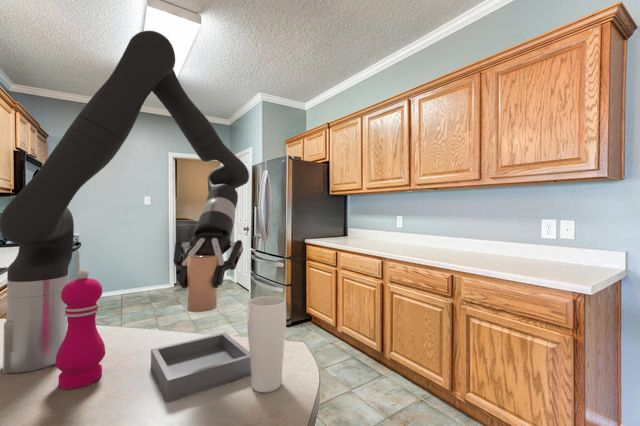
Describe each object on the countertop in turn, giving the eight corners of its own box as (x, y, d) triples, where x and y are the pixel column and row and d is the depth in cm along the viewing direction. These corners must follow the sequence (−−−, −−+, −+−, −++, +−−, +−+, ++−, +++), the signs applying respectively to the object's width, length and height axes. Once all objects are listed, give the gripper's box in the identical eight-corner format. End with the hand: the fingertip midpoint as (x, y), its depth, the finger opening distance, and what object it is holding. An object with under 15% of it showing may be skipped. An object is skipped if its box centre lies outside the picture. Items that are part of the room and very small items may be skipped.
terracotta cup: (191, 314, 57) (191, 258, 57) (183, 307, 61) (184, 255, 61) (220, 308, 60) (221, 256, 60) (211, 302, 64) (211, 253, 64)
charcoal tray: (167, 402, 50) (167, 380, 50) (150, 366, 62) (151, 349, 62) (253, 374, 59) (254, 355, 59) (224, 347, 71) (225, 332, 71)
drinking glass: (278, 399, 51) (279, 307, 51) (240, 394, 52) (240, 304, 53) (290, 378, 58) (291, 296, 58) (256, 374, 59) (256, 294, 59)
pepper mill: (64, 374, 59) (66, 267, 59) (109, 367, 61) (111, 265, 62) (46, 394, 52) (49, 274, 52) (98, 386, 55) (100, 272, 55)
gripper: (179, 209, 68) (153, 274, 56) (246, 209, 69) (234, 274, 57) (188, 232, 73) (166, 297, 61) (250, 232, 74) (240, 295, 62)
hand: (199, 285), depth 59 cm, fingers closed on terracotta cup, 5 cm apart
